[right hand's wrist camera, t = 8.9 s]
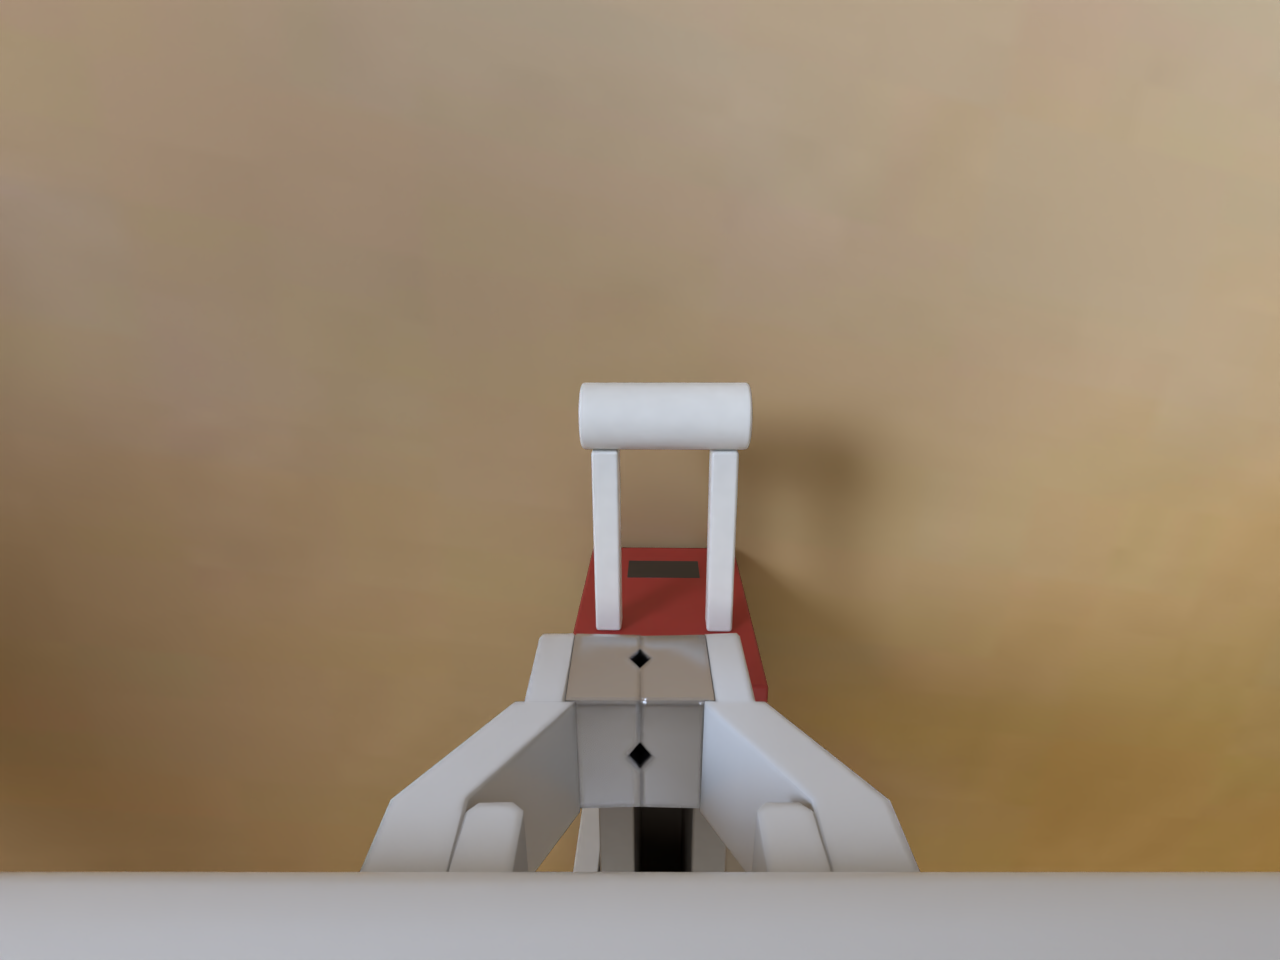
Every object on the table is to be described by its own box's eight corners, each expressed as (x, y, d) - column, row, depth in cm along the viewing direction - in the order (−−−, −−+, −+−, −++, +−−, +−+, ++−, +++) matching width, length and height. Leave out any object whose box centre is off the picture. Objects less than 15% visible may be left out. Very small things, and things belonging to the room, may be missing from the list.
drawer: (587, 354, 19) (547, 405, 12) (741, 354, 19) (785, 405, 12) (604, 948, 26) (583, 1193, 19) (718, 950, 26) (738, 1198, 19)
